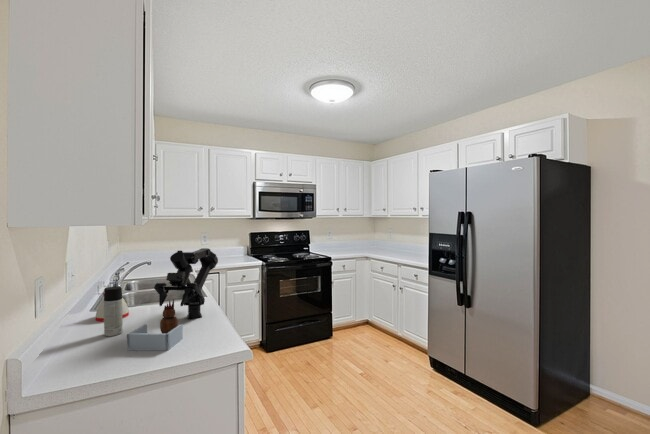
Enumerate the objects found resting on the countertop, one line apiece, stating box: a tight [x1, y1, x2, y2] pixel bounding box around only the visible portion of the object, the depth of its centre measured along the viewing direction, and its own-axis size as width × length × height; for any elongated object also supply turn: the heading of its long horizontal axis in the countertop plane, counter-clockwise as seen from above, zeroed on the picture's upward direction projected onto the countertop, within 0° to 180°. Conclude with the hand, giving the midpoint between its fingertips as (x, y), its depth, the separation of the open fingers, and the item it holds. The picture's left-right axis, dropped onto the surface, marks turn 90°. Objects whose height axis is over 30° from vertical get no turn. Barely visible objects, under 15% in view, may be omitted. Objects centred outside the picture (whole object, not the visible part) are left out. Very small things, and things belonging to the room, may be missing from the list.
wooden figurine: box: [159, 299, 179, 334], centre depth 136 cm, size 7×6×15 cm
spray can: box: [103, 285, 124, 337], centre depth 138 cm, size 7×7×20 cm
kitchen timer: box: [95, 292, 130, 323], centre depth 161 cm, size 14×14×15 cm
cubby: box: [126, 323, 183, 351], centre depth 126 cm, size 11×16×6 cm
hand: (170, 305), depth 137 cm, fingers open, 9 cm apart
